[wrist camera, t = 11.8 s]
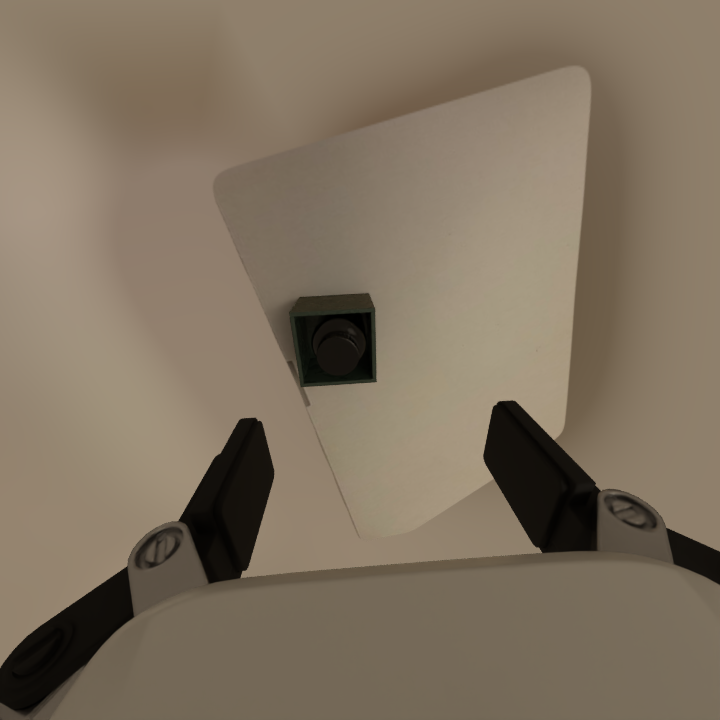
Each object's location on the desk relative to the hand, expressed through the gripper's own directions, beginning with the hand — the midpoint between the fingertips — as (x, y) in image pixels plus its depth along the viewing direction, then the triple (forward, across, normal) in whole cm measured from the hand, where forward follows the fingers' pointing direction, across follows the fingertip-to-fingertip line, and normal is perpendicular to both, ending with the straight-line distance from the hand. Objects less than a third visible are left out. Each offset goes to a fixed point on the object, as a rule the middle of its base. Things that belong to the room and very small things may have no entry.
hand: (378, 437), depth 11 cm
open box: (+31, +3, +6) cm, 32 cm away
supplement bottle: (+31, +2, +5) cm, 31 cm away
